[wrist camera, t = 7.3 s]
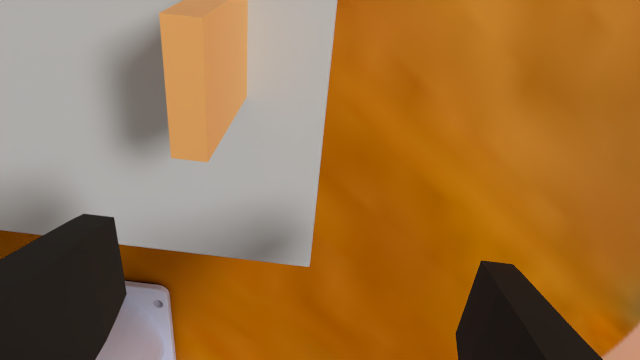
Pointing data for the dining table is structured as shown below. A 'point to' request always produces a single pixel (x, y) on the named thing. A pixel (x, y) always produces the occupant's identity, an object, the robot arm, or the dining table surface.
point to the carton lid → (167, 120)
